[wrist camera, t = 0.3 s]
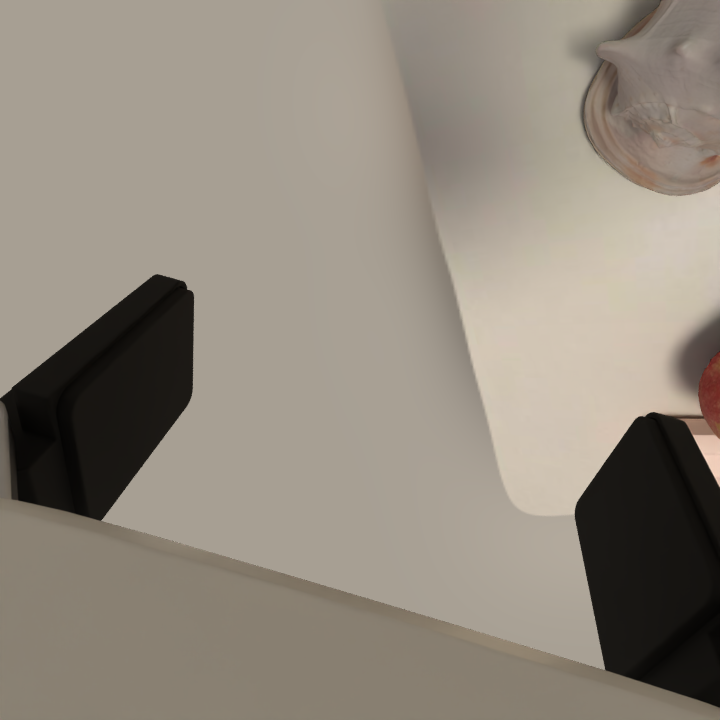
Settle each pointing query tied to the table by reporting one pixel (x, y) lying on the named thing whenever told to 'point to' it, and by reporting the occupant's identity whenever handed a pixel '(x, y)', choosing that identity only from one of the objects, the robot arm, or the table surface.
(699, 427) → the soap bar
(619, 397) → the table surface
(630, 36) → the seashell
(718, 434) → the fruit
